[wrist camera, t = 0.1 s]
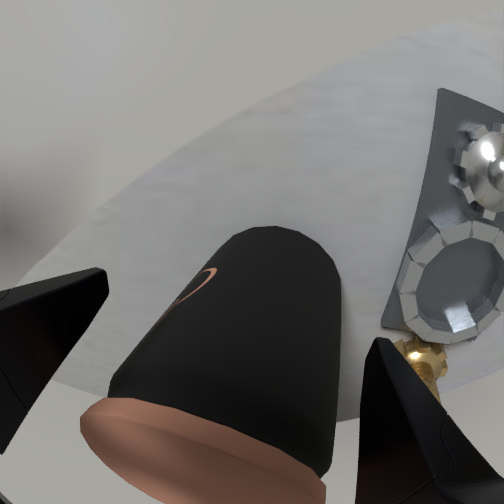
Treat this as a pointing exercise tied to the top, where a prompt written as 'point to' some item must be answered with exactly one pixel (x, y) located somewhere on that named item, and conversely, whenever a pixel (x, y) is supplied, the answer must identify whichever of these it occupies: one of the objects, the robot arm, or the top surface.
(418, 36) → the top surface
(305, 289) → the coffee jar
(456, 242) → the carrier
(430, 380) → the planet gear
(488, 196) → the sun gear
